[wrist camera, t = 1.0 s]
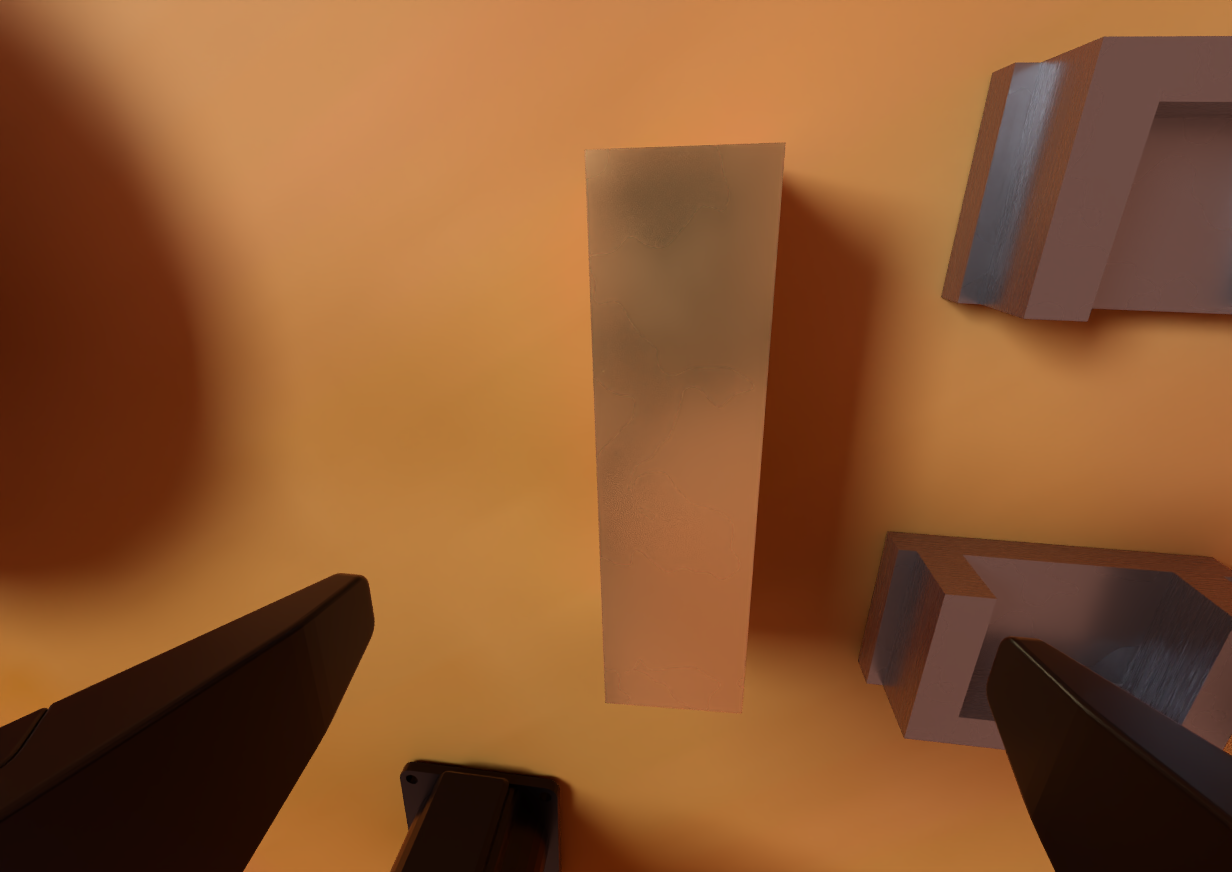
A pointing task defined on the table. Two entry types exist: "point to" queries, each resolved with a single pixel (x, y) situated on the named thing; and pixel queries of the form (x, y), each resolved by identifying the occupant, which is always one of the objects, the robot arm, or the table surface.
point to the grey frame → (1067, 290)
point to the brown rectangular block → (680, 409)
